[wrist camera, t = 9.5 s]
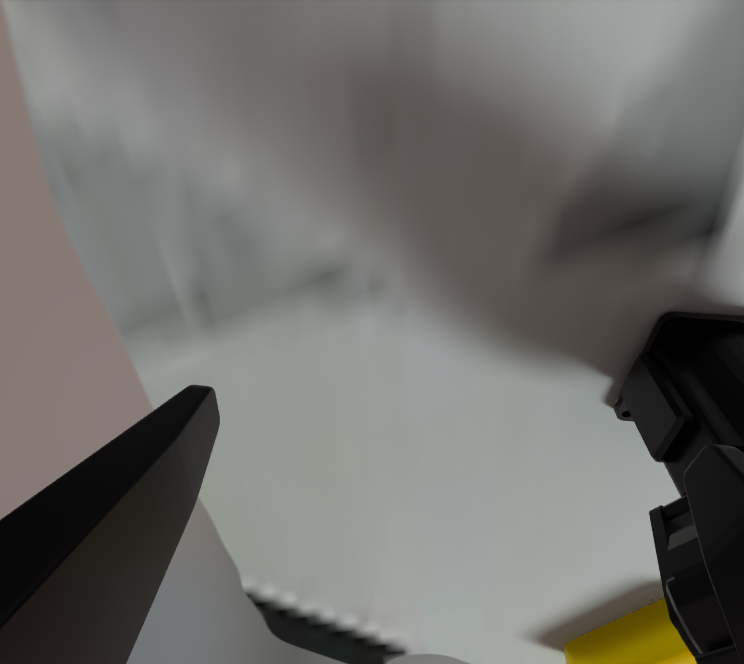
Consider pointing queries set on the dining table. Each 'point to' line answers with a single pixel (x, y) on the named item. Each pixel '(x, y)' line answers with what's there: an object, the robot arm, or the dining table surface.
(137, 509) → the robot arm
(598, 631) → the element tile
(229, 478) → the dining table surface
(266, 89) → the dining table surface
